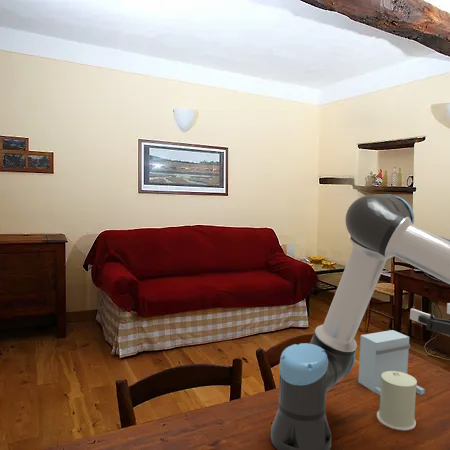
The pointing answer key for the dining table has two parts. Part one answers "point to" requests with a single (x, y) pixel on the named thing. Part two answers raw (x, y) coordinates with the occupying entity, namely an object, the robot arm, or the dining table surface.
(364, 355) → the pale blue footed box
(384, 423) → the coaster
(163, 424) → the dining table surface
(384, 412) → the can
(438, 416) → the dining table surface
